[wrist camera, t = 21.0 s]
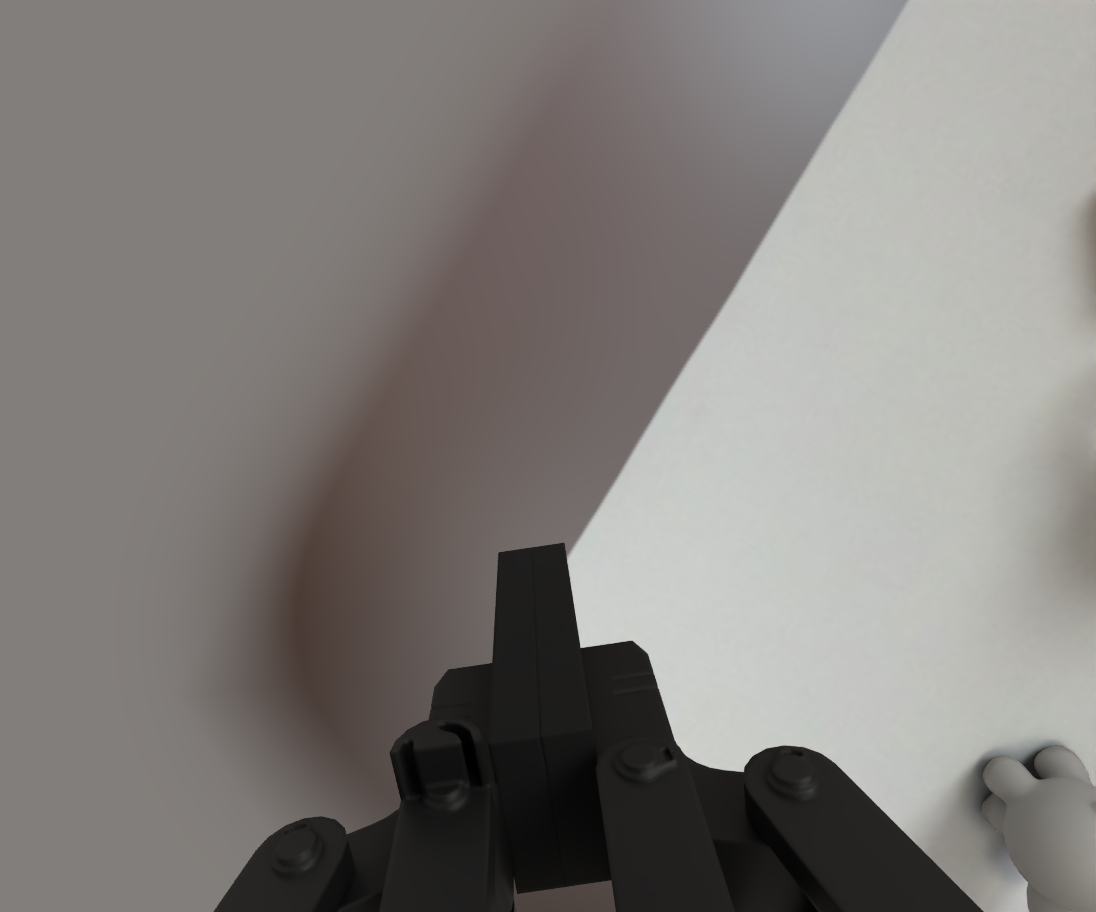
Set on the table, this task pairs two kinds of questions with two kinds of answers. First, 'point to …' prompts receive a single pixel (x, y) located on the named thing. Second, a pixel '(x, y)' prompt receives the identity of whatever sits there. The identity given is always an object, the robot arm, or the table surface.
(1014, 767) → the round bodied animal figurine
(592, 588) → the table surface
